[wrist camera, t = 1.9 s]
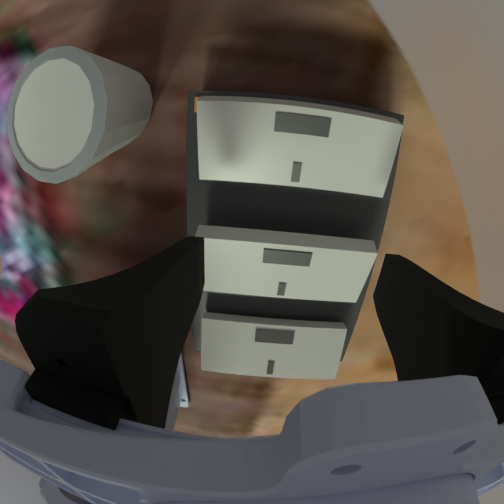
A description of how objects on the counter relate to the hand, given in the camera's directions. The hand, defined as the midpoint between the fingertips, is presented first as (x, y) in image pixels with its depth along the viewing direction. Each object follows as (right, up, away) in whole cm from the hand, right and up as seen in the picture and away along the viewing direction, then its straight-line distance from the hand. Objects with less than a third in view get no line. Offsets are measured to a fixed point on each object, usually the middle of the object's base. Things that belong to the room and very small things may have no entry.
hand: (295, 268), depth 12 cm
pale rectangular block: (0, -6, +8) cm, 10 cm away
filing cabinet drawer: (0, 0, +5) cm, 5 cm away
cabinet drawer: (0, +6, +2) cm, 6 cm away
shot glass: (-11, +10, +5) cm, 16 cm away
